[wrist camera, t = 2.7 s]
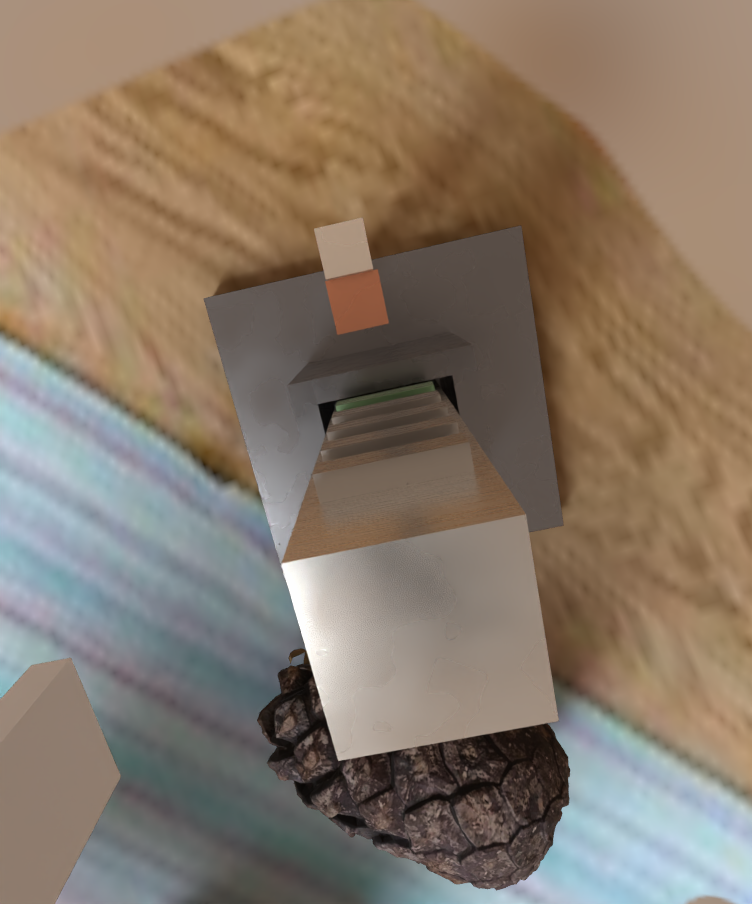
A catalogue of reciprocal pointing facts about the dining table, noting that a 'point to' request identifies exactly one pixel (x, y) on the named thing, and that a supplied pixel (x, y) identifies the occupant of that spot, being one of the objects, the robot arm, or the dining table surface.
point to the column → (415, 581)
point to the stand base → (389, 358)
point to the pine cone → (427, 789)
